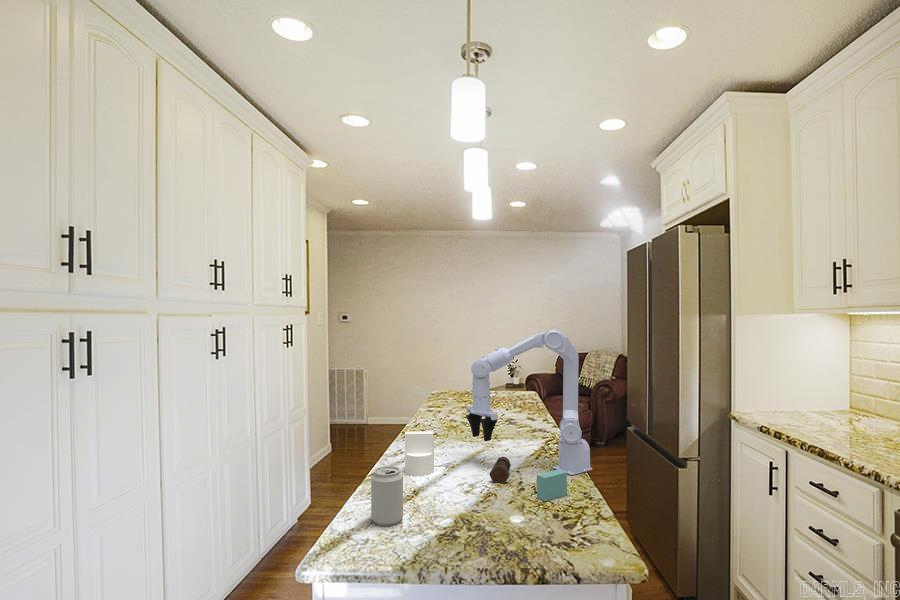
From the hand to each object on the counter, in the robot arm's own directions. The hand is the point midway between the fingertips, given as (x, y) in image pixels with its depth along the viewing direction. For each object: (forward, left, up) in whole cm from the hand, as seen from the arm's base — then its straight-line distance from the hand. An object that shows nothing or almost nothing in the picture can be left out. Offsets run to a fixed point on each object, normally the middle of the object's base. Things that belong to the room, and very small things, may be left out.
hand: (481, 438), depth 151 cm
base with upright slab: (+20, -5, -9) cm, 22 cm away
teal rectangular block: (0, +30, -8) cm, 31 cm away
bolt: (0, +11, -9) cm, 14 cm away
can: (+43, +21, -9) cm, 48 cm away
